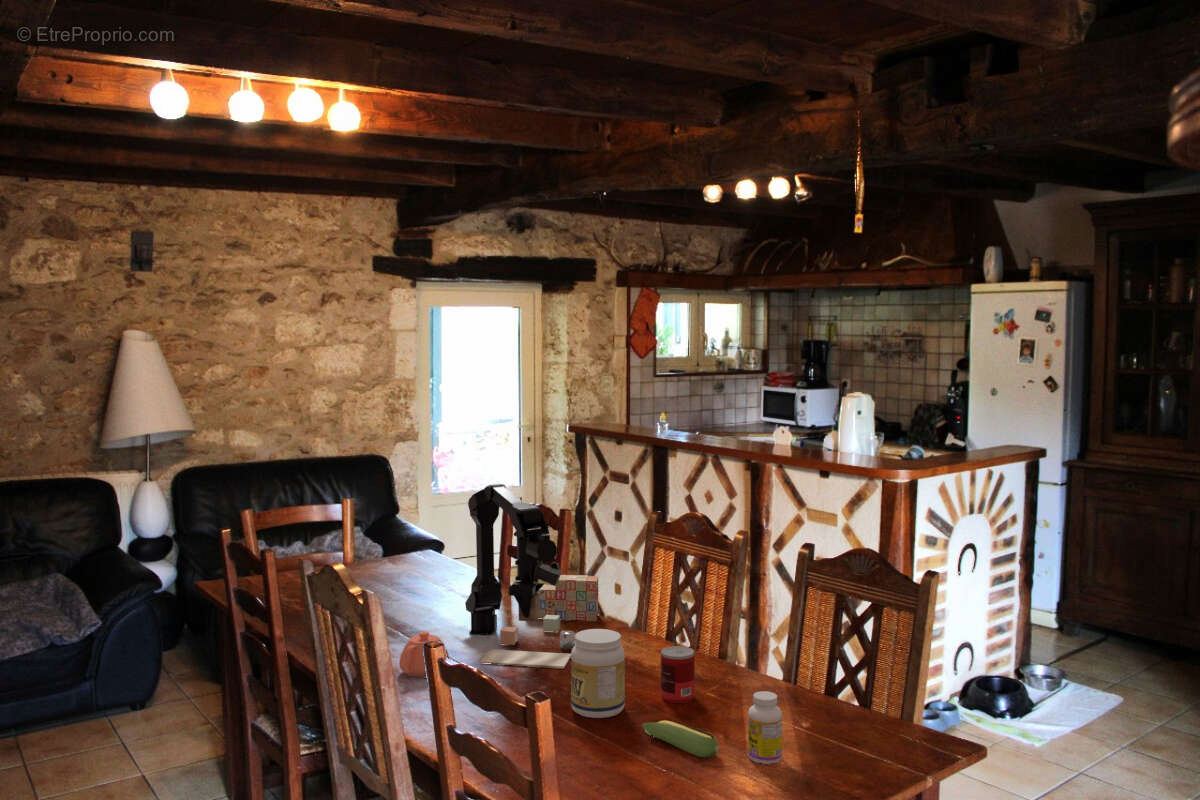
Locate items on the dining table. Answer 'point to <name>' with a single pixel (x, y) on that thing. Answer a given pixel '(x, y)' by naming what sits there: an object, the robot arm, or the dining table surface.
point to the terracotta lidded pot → (416, 654)
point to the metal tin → (567, 639)
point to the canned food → (677, 674)
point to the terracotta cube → (509, 635)
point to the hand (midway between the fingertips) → (528, 614)
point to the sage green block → (551, 623)
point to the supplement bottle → (765, 729)
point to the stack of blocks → (570, 598)
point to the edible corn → (683, 737)
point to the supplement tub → (597, 673)
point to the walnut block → (531, 610)
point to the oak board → (527, 658)
